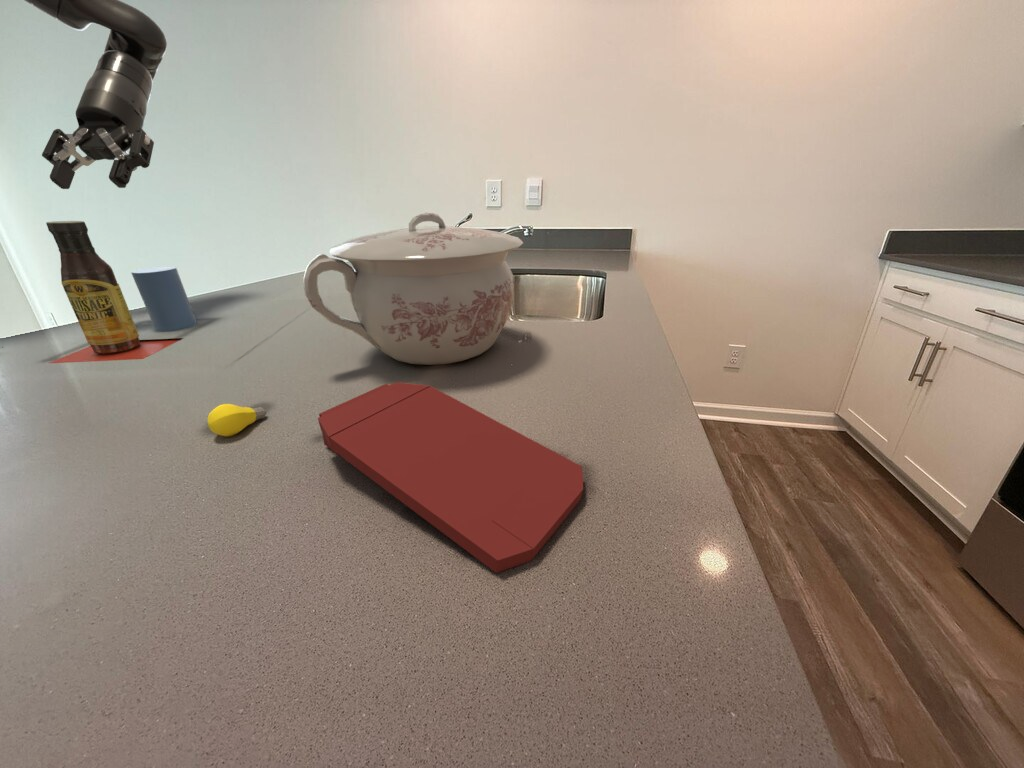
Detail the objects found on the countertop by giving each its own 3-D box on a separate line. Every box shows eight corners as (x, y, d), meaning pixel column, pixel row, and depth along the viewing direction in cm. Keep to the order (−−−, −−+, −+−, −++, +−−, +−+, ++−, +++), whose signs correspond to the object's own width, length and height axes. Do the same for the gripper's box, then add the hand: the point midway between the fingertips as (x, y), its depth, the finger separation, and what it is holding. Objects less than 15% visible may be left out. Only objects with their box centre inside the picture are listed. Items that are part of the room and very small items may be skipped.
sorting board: (50, 367, 63) (47, 363, 63) (145, 328, 81) (143, 324, 81) (144, 363, 64) (142, 358, 64) (218, 324, 82) (216, 321, 81)
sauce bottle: (84, 358, 64) (15, 223, 56) (108, 345, 70) (48, 220, 61) (133, 353, 66) (73, 221, 57) (152, 340, 71) (100, 219, 63)
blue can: (147, 334, 75) (121, 273, 70) (171, 324, 80) (148, 267, 75) (184, 333, 75) (160, 272, 70) (204, 322, 81) (184, 265, 76)
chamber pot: (529, 324, 77) (528, 206, 68) (516, 389, 53) (513, 217, 44) (387, 323, 80) (369, 209, 71) (313, 384, 56) (270, 222, 47)
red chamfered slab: (584, 512, 37) (401, 404, 49) (596, 473, 35) (399, 369, 46) (506, 614, 29) (305, 453, 40) (514, 572, 26) (297, 413, 38)
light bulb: (204, 441, 43) (196, 408, 43) (259, 428, 49) (252, 399, 48) (223, 438, 42) (215, 404, 41) (277, 425, 47) (270, 395, 47)
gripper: (46, 87, 65) (12, 165, 59) (140, 86, 65) (114, 163, 60) (91, 130, 72) (64, 203, 67) (175, 129, 73) (154, 201, 67)
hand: (88, 184), depth 63 cm, fingers open, 8 cm apart
